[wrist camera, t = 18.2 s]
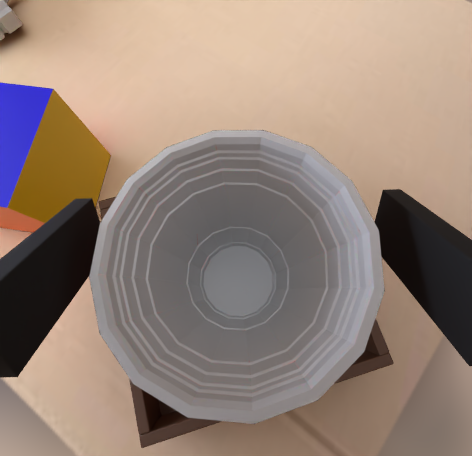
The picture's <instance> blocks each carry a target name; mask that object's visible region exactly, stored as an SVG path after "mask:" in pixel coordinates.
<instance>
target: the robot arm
mask: <svg viewBox="0 0 472 456" xmlns="http://www.w3.org/2000/svg"><path fill="white" fill-rule="evenodd" d="M375 224H376V226H377V228H378V230H379V237H380V247H381V256H382V257H383V259H384V260H385V261H386V262H387V264H388V265H389V266H390V267H391V269H392V270H393V271H394V272H395V274H396V275H397V276H398V277H399V279H400V280H401V281H402V282H403V284H404V285H405V286H406V287H407V289H408V290H409V291H410V292H411V294H412V295H413V296H414V298H415V299H416V300H417V301H418V303H419V304H420V305H421V306H422V308H423V309H424V310H425V311H426V313H427V314H428V315H429V316H430V318H431V319H432V320H433V321H434V323H435V324H436V325H437V326H438V328H439V329H440V330H441V331H442V333H443V334H444V335H445V336H446V337H447V339H448V340H449V341H450V342H451V344H452V345H453V346H454V347H455V349H456V350H457V351H458V353H459V354H460V355H461V356H462V358H463V359H464V360H465V361H466V363H467V364H468V365H469V366H472V240H471V239H469V238H468V237H467V236H465V235H464V234H462V233H461V232H460V231H458V230H457V229H455V228H454V227H453V226H451V225H450V224H448V223H447V222H445V221H444V220H443V219H441V218H440V217H438V216H437V215H436V214H434V213H433V212H431V211H430V210H429V209H427V208H426V207H424V206H423V205H421V204H420V203H419V202H417V201H416V200H414V199H413V198H412V197H410V196H409V195H407V194H406V193H405V192H403V191H402V190H400V189H396V190H383V192H382V196H381V200H380V204H379V207H378V211H377V215H376V219H375ZM99 226H100V221H99V218H98V215H97V212H96V208H95V205H94V202H93V199H92V198H83V199H74V200H73V201H72V202H71V203H70V204H68V205H67V206H66V207H65V208H63V209H62V210H61V211H60V212H58V213H57V214H56V215H55V216H53V217H52V218H51V219H50V220H48V221H47V222H46V223H45V224H43V225H42V226H41V227H40V228H38V229H37V230H36V231H35V232H33V233H32V234H31V235H30V236H28V237H27V238H26V239H25V240H24V241H22V242H21V243H20V244H19V245H17V246H16V247H15V248H14V249H12V250H11V251H10V252H9V253H7V254H6V255H5V256H4V257H2V258H1V259H0V377H18V375H19V374H20V373H21V371H22V370H23V368H24V367H25V366H26V364H27V363H28V361H29V360H30V358H31V357H32V356H33V354H34V353H35V351H36V350H37V349H38V347H39V346H40V344H41V343H42V342H43V340H44V339H45V337H46V336H47V334H48V333H49V332H50V330H51V329H52V327H53V326H54V325H55V323H56V322H57V320H58V319H59V317H60V316H61V315H62V313H63V312H64V310H65V309H66V308H67V306H68V305H69V303H70V302H71V301H72V299H73V298H74V296H75V295H76V293H77V292H78V291H79V289H80V288H81V286H82V285H83V284H84V282H85V281H86V279H87V278H88V277H89V275H90V271H91V266H92V261H93V256H94V251H95V246H96V241H97V236H98V231H99Z"/></svg>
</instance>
